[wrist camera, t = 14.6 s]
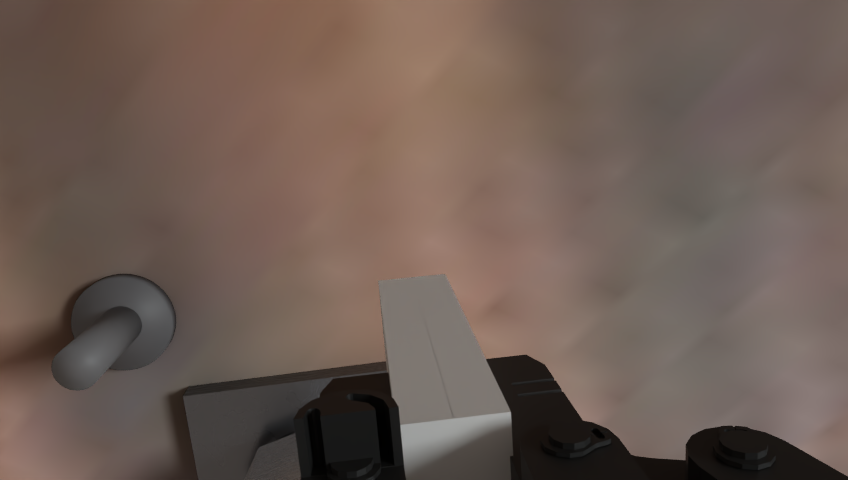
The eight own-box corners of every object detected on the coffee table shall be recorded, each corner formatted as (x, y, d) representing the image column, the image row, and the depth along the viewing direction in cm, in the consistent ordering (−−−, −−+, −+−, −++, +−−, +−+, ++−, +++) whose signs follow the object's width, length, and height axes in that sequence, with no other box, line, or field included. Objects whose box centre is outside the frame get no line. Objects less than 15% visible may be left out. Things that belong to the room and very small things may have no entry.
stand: (68, 279, 42) (2, 321, 34) (167, 268, 42) (124, 306, 35) (88, 369, 43) (28, 429, 35) (183, 357, 44) (145, 414, 36)
